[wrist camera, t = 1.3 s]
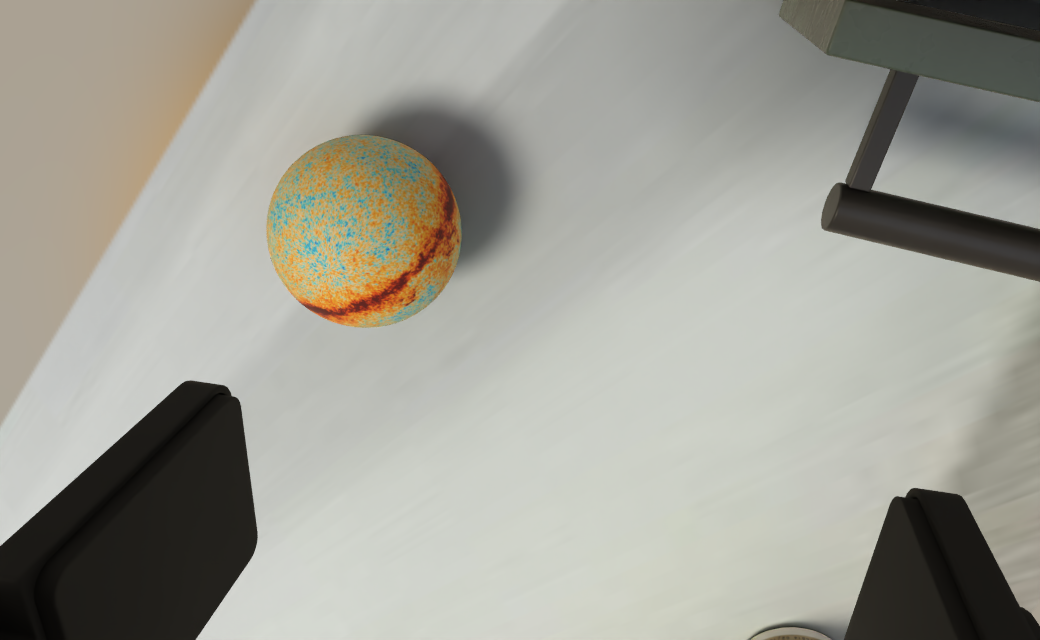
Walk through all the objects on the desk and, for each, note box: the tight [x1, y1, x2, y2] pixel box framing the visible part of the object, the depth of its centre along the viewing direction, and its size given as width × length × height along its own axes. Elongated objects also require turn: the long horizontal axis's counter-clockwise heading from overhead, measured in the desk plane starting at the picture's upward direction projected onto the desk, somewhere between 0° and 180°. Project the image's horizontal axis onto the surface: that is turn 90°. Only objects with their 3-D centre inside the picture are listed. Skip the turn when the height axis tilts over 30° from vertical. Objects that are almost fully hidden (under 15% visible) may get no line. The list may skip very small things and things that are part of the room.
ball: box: [267, 135, 462, 328], centre depth 28 cm, size 7×7×7 cm
